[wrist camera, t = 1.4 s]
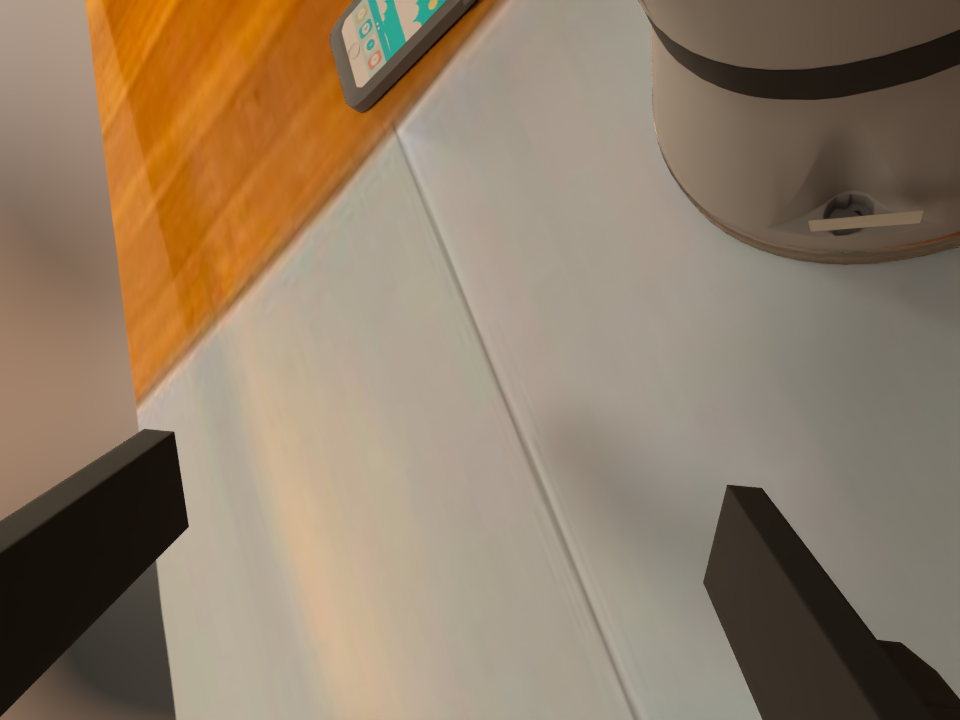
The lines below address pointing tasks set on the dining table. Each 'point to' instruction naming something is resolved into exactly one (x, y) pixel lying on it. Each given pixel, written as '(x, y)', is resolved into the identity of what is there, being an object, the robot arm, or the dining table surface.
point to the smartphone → (386, 42)
